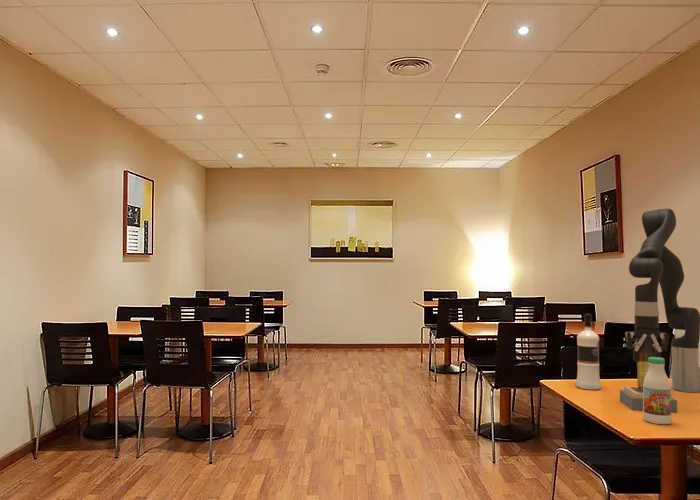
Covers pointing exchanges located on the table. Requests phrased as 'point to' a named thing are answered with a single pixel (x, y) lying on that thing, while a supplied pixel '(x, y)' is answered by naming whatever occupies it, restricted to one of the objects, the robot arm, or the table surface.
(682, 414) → the table surface
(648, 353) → the sauce bottle
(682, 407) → the table surface
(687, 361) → the robot arm
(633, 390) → the tray
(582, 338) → the vodka
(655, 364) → the milk bottle
